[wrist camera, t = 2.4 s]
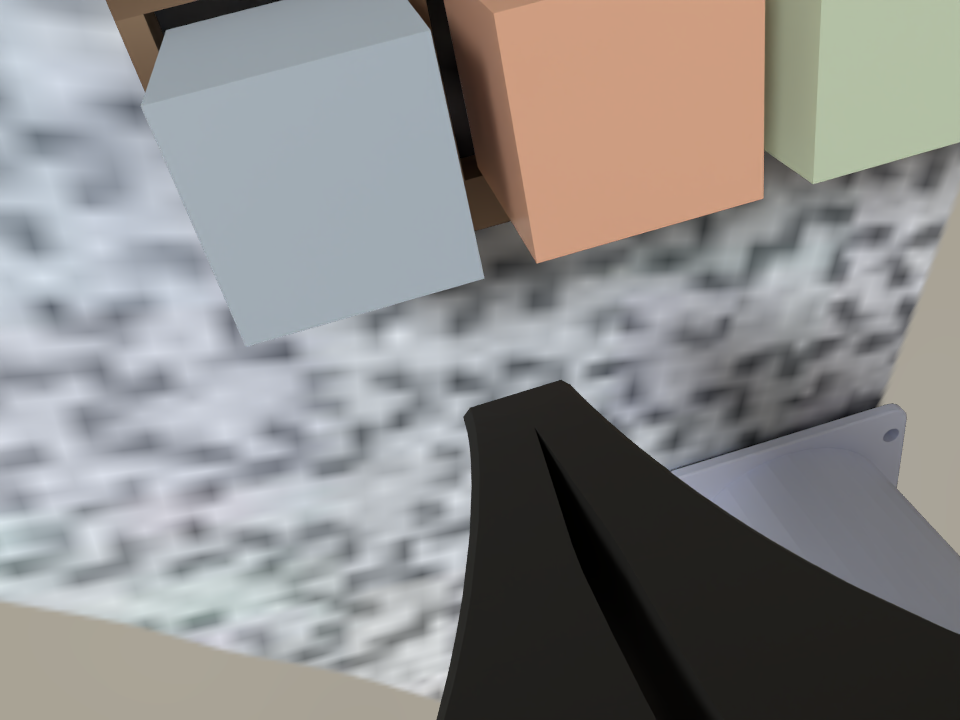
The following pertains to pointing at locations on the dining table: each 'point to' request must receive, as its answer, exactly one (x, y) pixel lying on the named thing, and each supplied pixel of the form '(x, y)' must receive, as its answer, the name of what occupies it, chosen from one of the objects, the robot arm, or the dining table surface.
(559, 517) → the robot arm
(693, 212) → the salmon orange cube
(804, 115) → the sage button
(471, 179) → the walnut board
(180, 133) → the light grey cube
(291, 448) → the dining table surface
